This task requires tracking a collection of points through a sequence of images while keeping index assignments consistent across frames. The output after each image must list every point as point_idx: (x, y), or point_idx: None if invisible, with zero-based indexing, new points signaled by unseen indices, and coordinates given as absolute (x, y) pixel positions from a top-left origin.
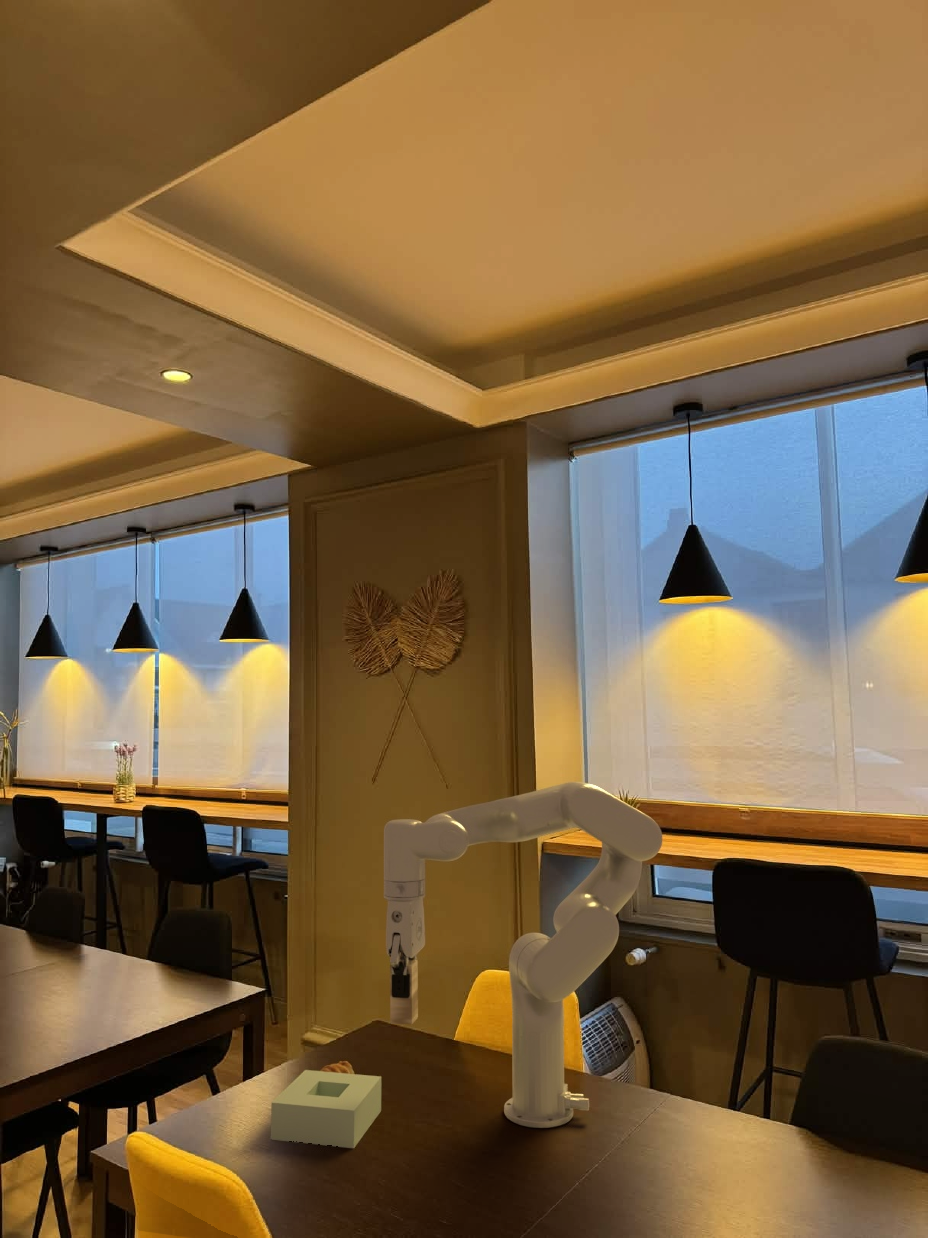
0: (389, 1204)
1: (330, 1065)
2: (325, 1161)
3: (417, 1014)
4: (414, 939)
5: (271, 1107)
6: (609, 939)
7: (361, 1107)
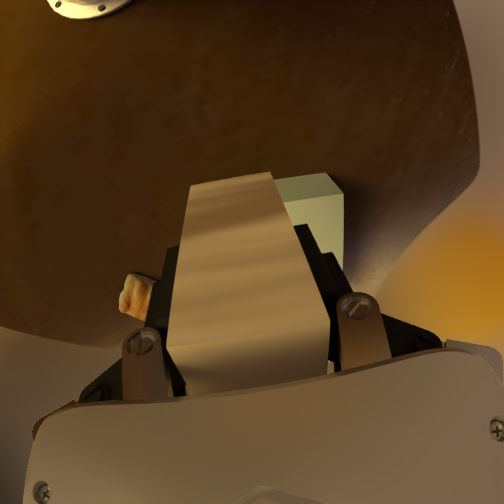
0: (436, 78)
1: (144, 315)
2: (365, 191)
3: (196, 189)
4: (466, 486)
5: None
6: None
7: (305, 194)
